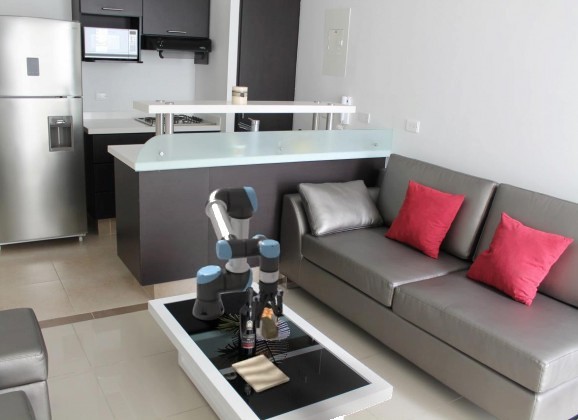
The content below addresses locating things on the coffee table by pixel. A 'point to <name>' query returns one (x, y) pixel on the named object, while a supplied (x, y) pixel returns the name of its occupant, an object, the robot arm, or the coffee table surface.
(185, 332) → the coffee table surface
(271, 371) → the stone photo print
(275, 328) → the stone block
